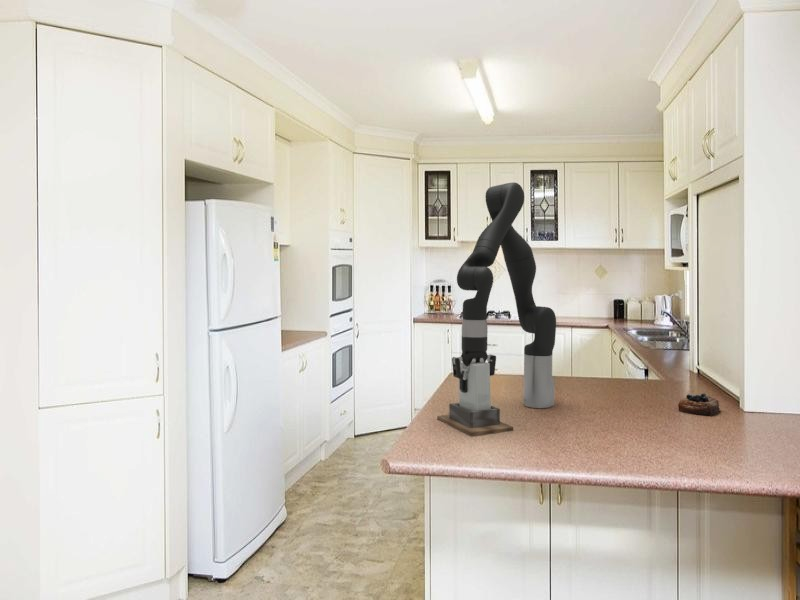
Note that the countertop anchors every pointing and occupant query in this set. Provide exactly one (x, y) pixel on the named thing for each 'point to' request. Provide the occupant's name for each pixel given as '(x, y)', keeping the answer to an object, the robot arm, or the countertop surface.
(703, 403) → the pastry
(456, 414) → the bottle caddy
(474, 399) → the skincare box
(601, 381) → the countertop surface
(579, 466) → the countertop surface
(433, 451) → the countertop surface
